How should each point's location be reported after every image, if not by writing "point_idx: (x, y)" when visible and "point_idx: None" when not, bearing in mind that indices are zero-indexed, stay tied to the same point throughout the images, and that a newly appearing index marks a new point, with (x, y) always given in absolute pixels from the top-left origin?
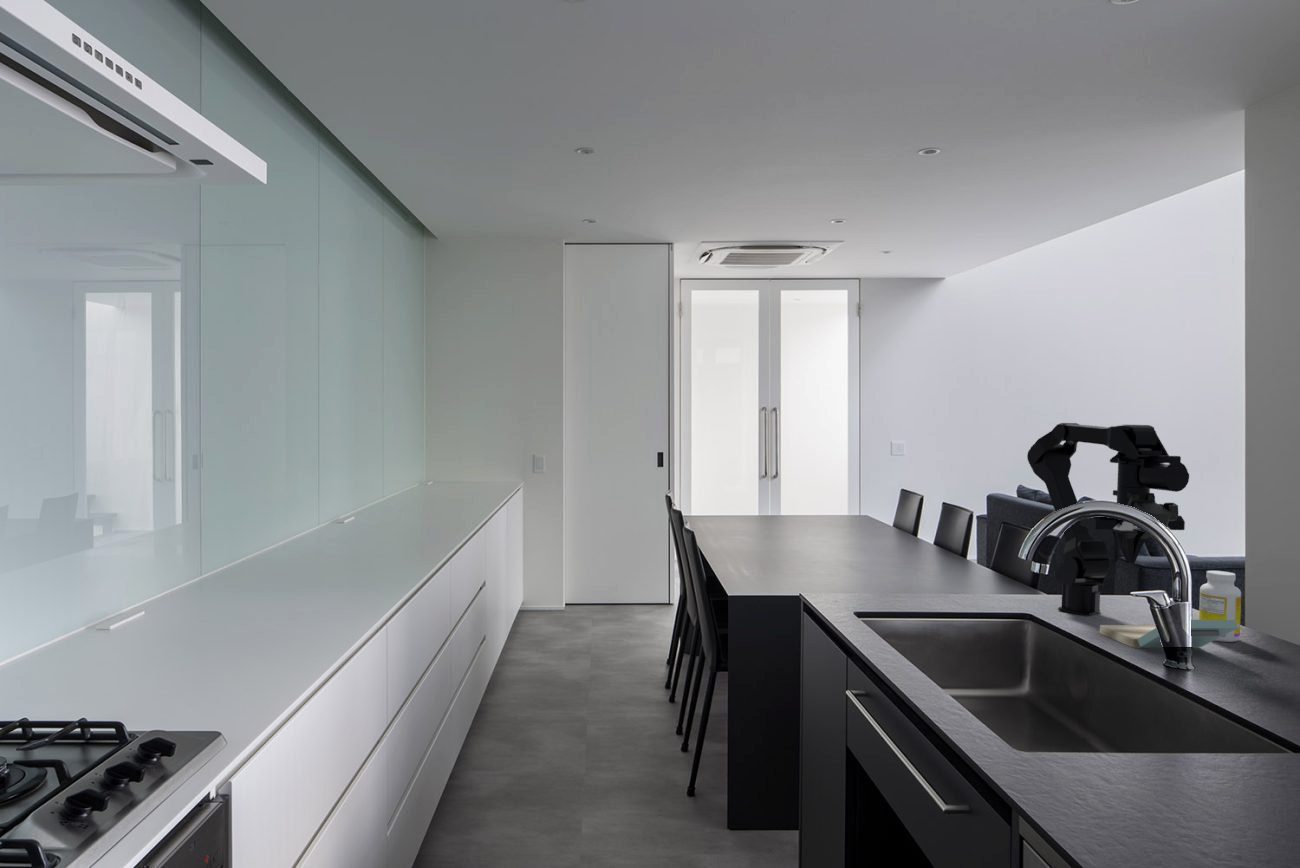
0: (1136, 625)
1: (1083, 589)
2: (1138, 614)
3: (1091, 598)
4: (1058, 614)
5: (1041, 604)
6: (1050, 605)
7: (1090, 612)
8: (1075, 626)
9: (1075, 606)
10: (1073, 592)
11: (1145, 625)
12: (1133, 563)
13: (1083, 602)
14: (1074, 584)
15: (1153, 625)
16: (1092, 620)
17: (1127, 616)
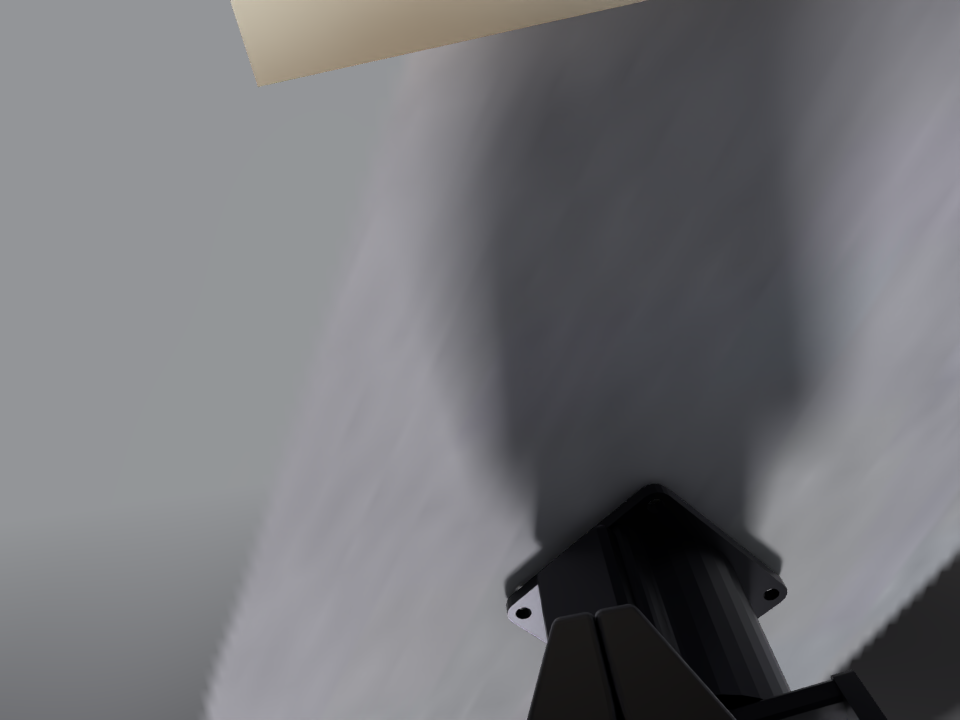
0: (534, 5)
1: (720, 666)
2: (252, 607)
3: (642, 603)
4: (837, 491)
5: None
6: None
7: (621, 525)
8: (937, 156)
9: (720, 567)
10: (768, 657)
11: (439, 29)
12: (571, 615)
13: (684, 583)
14: (824, 687)
15: (357, 45)
16: (677, 379)
17: (353, 542)
